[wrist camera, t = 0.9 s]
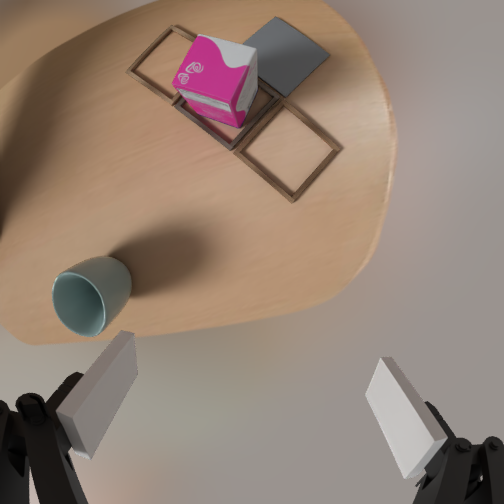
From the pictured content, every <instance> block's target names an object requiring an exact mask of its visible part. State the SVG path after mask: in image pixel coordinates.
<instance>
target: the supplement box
mask: <svg viewBox="0 0 504 504" xmlns="http://www.w3.org/2000/svg"><path fill="white" fill-rule="evenodd" d="M172 85H173V86H174V87H175V89H176V90H177V91H178V92H179V93H180V94H181V95H182V97H183V98H184V99H185V100H186V101H187V102H188V103H189V104H190V106H191V107H192V108H193V109H194V110H195V111H196V113H197V114H199V115H202V116H205V117H208V118H210V119H213V120H216V121H219V122H222V123H225V124H227V125H230V126H233V127H236V128H241V126H242V124H243V122H244V120H245V118H246V116H247V113H248V111H249V109H250V107H251V105H252V102H253V100H254V98H255V96H256V93H257V91H258V84H257V49H256V48H253V47H249V46H246V45H242V44H238V43H234V42H231V41H227V40H223V39H219V38H215V37H211V36H206V35H202V34H198V36H197V37H196V39H195V41H194V43H193V44H192V46H191V48H190V50H189V51H188V53H187V55H186V57H185V59H184V61H183V63H182V64H181V66H180V68H179V70H178V72H177V74H176V76H175V78H174V80H173V82H172Z"/></svg>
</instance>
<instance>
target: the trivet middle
mask: <svg viewBox="0 0 504 504" xmlns="http://www.w3.org/2000/svg"><path fill="white" fill-rule="evenodd" d="M257 84H258V86H259V87H260V88H261V89H263V90H264V91H265V92H267V93H268V94H269V95H271V96H272V97H273V99H272V100H271V101H270V102H269V103H268V104H267V105H266V106H265V107H264V108H263V109H262V110H261V111H260V112H259V113H258V114H257V115H256V116H255V117H254V118H253V119H252V120H251V121H250V123H249V124H248V125H247V126H246V127H245V128H244V129H243V130H242V131H241V132H240V133H239V135H238V136H237V137H236V138H235V139H234V140H233V141H232V142H231V143H230V145H229V144H228V143H227V142H226V141H224V140H223V139H222V138H221V137H219V136H218V135H217V134H216V133H214V132H213V131H212V130H211V129H209V128H208V127H207V126H205V125H204V124H203V123H202V122H200V121H199V120H198V119H196V118H195V117H194V116H192V115H191V114H190V113H188V112H187V111H186V110H184V109H183V108H182V105H183V104H184V103H185V102H186V100H185V99H184V98H182V99H181V100H180V101H179V102H178V103H177V104H176V105H175V106H174V107H175V108H176V109H177V110H178V111H180V112H181V113H182V114H184V115H185V116H186V117H188V118H189V119H190V120H192V121H193V122H194V123H196V124H197V125H198V126H199V127H201V128H202V129H203V130H205V131H206V132H207V133H208V134H210V135H211V136H212V137H213V138H215V139H216V140H217V141H219V142H220V143H221V144H222V145H224V146H225V147H226V148H227V149H228V150H230V151H231V150H232V149H233V147H234V146H235V145H236V144H237V143H238V142H239V141H240V140H241V139H242V137H243V136H244V135H245V134H246V133H247V132H248V131H249V130H250V129H251V128H252V126H253V125H254V124H255V123H256V122H257V121H258V120H259V119H260V118H261V117H262V116H263V115H264V114H265V113H266V112H267V111H268V110H269V109H270V107H271V106H272V105H273V104H274V103H275V102H276V101H277V100H278V99H279V98H280V96H279V95H278V94H276V93H275V92H274V91H273V90H271V89H270V88H269V87H267V86H266V85H265V84H263V83H262V82H261V81H259V80H258V79H257Z"/></svg>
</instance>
